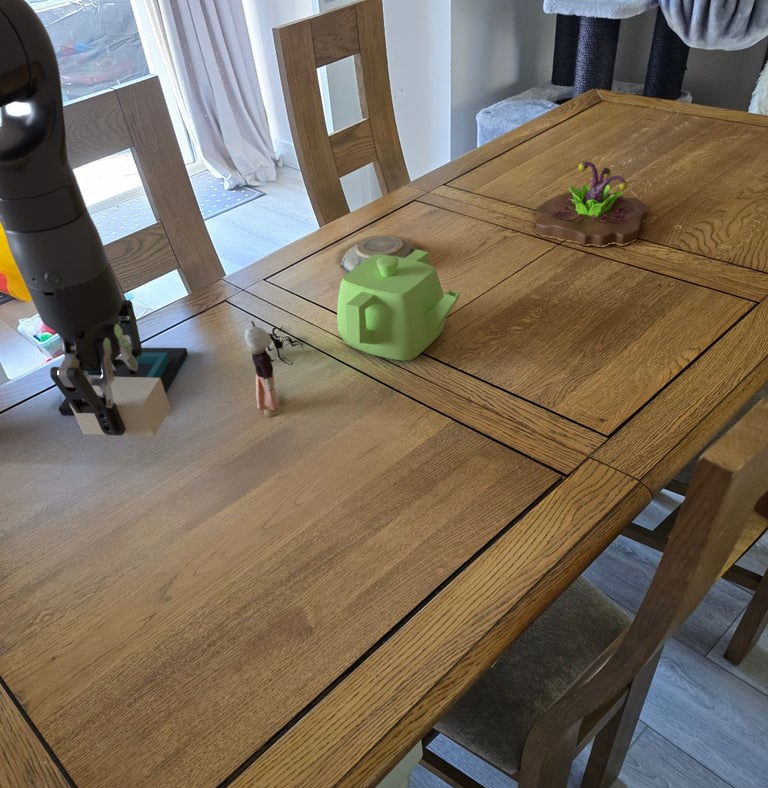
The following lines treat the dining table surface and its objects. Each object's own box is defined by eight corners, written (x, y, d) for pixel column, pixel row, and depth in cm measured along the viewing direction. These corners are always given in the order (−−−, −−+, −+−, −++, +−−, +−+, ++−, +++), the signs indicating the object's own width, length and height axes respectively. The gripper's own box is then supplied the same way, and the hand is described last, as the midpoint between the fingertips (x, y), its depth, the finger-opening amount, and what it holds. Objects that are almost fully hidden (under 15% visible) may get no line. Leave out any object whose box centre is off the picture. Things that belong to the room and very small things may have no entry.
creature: (300, 344, 111) (249, 342, 109) (302, 313, 108) (250, 310, 106) (305, 370, 106) (252, 369, 104) (307, 339, 102) (252, 336, 100)
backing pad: (61, 415, 100) (53, 399, 98) (105, 354, 111) (99, 339, 109) (152, 416, 98) (146, 400, 96) (188, 354, 109) (183, 339, 107)
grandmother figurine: (250, 400, 99) (229, 320, 90) (275, 391, 100) (257, 311, 91) (268, 428, 94) (249, 346, 85) (295, 418, 95) (278, 337, 86)
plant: (553, 198, 141) (559, 139, 133) (652, 209, 134) (664, 147, 126) (522, 240, 129) (526, 177, 121) (629, 253, 122) (641, 187, 114)
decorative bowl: (349, 246, 133) (331, 282, 123) (348, 226, 131) (329, 262, 120) (427, 247, 131) (415, 284, 120) (427, 227, 128) (415, 264, 118)
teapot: (488, 327, 108) (491, 245, 99) (421, 394, 97) (418, 309, 88) (390, 301, 116) (384, 224, 107) (318, 361, 105) (304, 280, 96)
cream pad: (83, 434, 74) (69, 403, 71) (102, 406, 77) (89, 375, 74) (154, 436, 73) (142, 405, 70) (170, 408, 76) (160, 377, 73)
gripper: (62, 232, 68) (119, 378, 80) (-15, 305, 58) (63, 459, 70) (134, 231, 67) (181, 379, 79) (68, 306, 57) (133, 462, 69)
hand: (125, 416), depth 75 cm, fingers closed on cream pad, 5 cm apart
